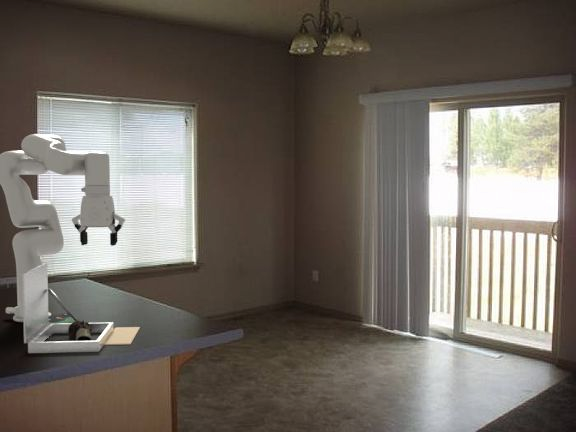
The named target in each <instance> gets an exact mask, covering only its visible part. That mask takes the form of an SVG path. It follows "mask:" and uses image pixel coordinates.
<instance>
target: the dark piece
mask: <svg viewBox="0 0 576 432" xmlns="http://www.w3.org/2000/svg"><path fill="white" fill-rule="evenodd" d="M89 323H90V322H87V321H84V320H82V321H80V319H78V321H75V322H74V323H72V324H70V326H69V328H68V332H69V333H68V339H69V341H93V338H92V334H91V333H90V332H91V329H90V326H89Z"/></svg>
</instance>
